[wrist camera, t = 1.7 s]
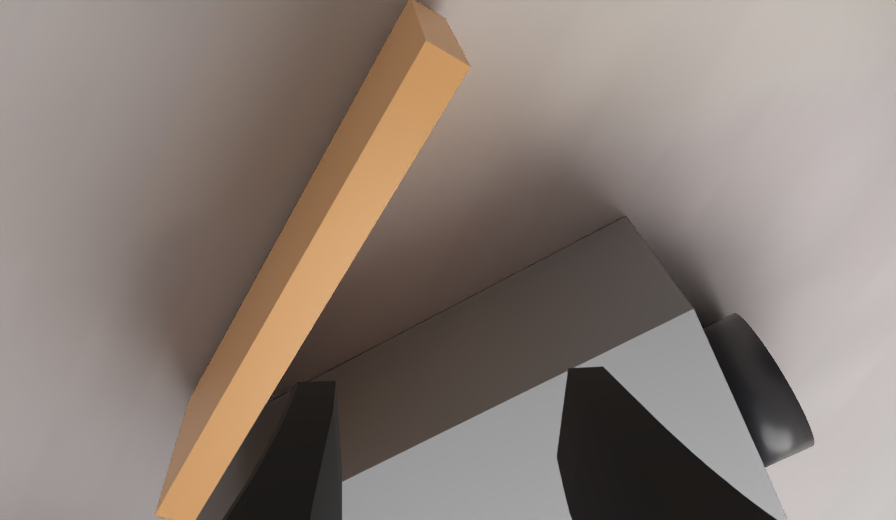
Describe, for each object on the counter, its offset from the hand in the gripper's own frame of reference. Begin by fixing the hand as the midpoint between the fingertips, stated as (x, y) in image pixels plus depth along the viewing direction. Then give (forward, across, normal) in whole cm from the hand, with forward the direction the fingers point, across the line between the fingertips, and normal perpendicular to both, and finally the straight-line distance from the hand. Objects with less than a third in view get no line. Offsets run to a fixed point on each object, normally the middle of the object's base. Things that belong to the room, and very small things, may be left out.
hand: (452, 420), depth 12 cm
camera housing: (+9, -3, +10) cm, 14 cm away
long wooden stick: (+9, +3, +1) cm, 10 cm away
